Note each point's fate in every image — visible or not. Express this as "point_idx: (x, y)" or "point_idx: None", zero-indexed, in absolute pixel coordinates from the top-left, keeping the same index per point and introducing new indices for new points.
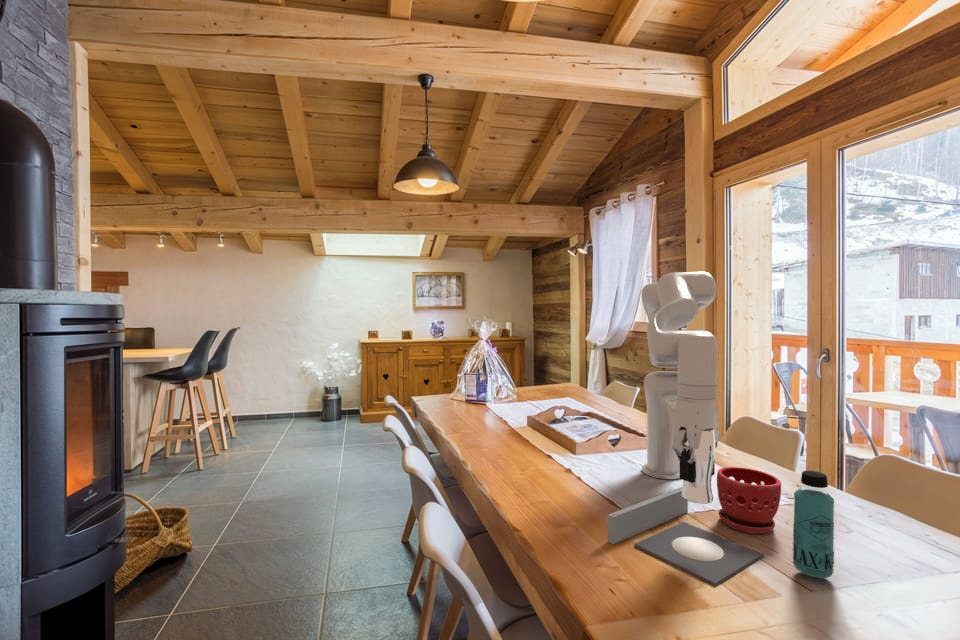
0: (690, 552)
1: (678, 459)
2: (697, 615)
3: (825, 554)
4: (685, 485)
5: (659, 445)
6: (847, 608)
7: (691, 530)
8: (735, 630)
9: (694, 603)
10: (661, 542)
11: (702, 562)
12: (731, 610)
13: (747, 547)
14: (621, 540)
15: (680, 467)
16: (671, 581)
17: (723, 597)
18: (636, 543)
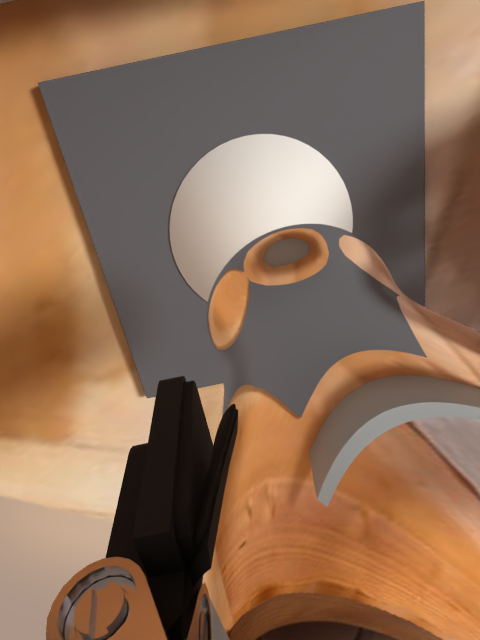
0: (212, 247)
1: (63, 596)
2: (11, 455)
3: None
4: (225, 342)
5: None
6: None
7: (374, 101)
8: (61, 507)
9: (36, 423)
10: (165, 131)
11: (200, 309)
12: (107, 465)
13: (423, 297)
14: (7, 1)
15: (149, 463)
16: (38, 333)
17: (130, 429)
18: (48, 86)
